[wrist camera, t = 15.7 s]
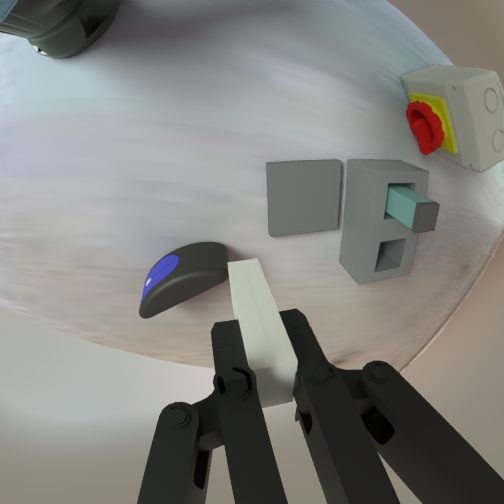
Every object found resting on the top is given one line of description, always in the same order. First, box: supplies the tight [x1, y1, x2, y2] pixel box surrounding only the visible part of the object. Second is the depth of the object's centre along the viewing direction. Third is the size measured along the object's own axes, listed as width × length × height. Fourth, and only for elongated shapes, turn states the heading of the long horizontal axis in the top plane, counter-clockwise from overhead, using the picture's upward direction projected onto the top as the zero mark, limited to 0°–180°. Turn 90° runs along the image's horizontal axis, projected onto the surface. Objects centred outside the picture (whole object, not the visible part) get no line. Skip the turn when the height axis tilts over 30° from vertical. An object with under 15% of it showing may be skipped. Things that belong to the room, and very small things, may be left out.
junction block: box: [339, 159, 429, 285], centre depth 45 cm, size 20×12×8 cm, turn 3°
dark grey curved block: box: [139, 242, 229, 319], centre depth 42 cm, size 16×5×9 cm, turn 115°
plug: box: [385, 183, 440, 233], centre depth 39 cm, size 4×4×14 cm
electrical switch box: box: [401, 65, 504, 172], centre depth 32 cm, size 14×15×20 cm
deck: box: [266, 159, 341, 237], centre depth 44 cm, size 12×12×2 cm
